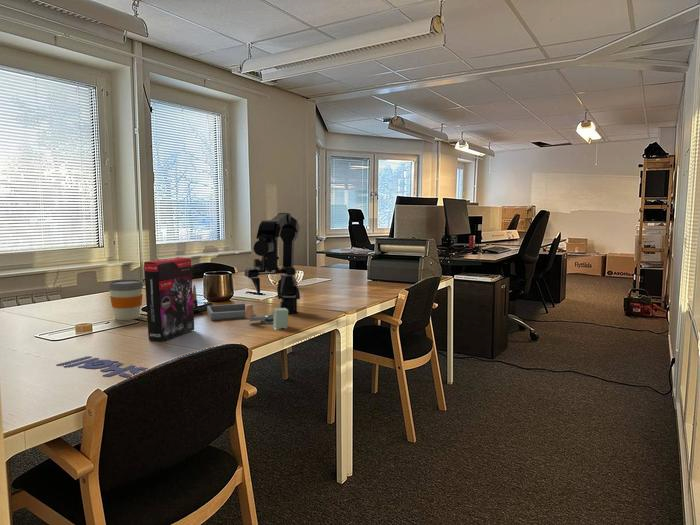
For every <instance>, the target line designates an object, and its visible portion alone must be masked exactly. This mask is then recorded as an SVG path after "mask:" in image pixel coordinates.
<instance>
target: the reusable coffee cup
mask: <svg viewBox="0 0 700 525" xmlns="http://www.w3.org/2000/svg"><path fill="white" fill-rule="evenodd" d="M143 288H144V286H143V280H142V279H130V278H129V279H119V280H118V279H117V280H112V281H109V288H108V290H109V292H110V297H109V299H110V302H111V307H112V309H113V312H114V319H115V320H116V321H131V320H136V319H139V318H140V315H141V314H140V313H141V306H142V305H143V304H142V303H143V293H142V292H143Z"/></svg>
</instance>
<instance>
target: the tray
mask: <svg viewBox="0 0 700 525" xmlns="http://www.w3.org/2000/svg"><path fill="white" fill-rule="evenodd" d="M247 304H248V303H247V302H245V303H234V304H233V303H231V304H219V305H215V304H214V305H207V306H206V313H207V315H208V317H209V320H210V322H215V321H223V320H224V321H225V320H238V319H240V320H241V319H246V318H245V305H247Z"/></svg>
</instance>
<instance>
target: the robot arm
mask: <svg viewBox="0 0 700 525" xmlns="http://www.w3.org/2000/svg"><path fill="white" fill-rule="evenodd" d="M299 232H300V224H299V221H298V220H297V219H296V218H294V217H293V216H292V215H291V213H289V212H279V213H277V214H276V216H274V217H273V218H271V219H267V220H266V219H265V220H261V222H260V223H259V225H258V229H257V233H256V236H255V237H256V240H257V239H258V240H257V241H255V243H254V244H253V251H254V253H255V254H256V255H257V256H259V257H261V260H260V259H259V258H255V259H253V268H252V267H251V268H250V267H249V268H245V270H244V272H243V273H244V276H245V277H247V278H248V279H249V280H251V281H252V283H253V285H254V288H255V290H256V293H257V296H260V295H261V278H260V277H259V276H261V275H262V276H263V275H278V274H280V279H279V280H278V281H277V283H278V284H277V286H276V291H277V293H276V294H277V299H278V300H280V301H279V308H286V309H287V310H288V315H291V314H299V311H298V306H297V305H298V300H300V299H301V292H300V289H299V287H298V286H299V285H298V282H297V279H296V278H295V276H296V274H297V272H296V268H295V267H294V258H295V256H294V254H295V253H294V252H295V242H296V239H297V238H298V236H299ZM279 238H281V240H282V243H283V244H282V266H281V268H279V261H278V260H280V257H279V254H278V253H279V251H278V250H279V249H278V248H279V247H278V246H279Z"/></svg>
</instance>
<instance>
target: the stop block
mask: <svg viewBox="0 0 700 525" xmlns="http://www.w3.org/2000/svg"><path fill="white" fill-rule="evenodd" d="M273 315H274V318H273V324H272V327H273V329H274V328H275V329H278V330H281V328H285V329H288V326H289V325H288V324H289V323H288V322H289V314H288V310H287V309H286V308H280V307H276V308H275V307H273ZM275 329H274V330H275Z"/></svg>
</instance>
